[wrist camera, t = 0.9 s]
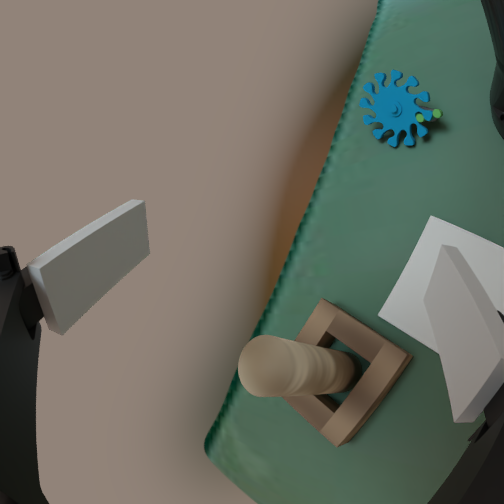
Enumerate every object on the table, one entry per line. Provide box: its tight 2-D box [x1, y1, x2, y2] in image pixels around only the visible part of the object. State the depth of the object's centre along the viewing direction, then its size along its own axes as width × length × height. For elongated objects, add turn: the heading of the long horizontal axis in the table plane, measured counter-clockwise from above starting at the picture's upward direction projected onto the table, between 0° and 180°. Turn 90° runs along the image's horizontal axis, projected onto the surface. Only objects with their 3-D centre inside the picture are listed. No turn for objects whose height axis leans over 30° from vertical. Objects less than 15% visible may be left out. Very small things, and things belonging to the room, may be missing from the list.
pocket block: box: [281, 298, 413, 447], centre depth 29 cm, size 11×11×3 cm
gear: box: [359, 70, 443, 147], centre depth 33 cm, size 11×6×10 cm
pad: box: [378, 216, 504, 354], centre depth 25 cm, size 12×12×1 cm
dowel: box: [238, 335, 362, 397], centre depth 26 cm, size 4×4×14 cm
